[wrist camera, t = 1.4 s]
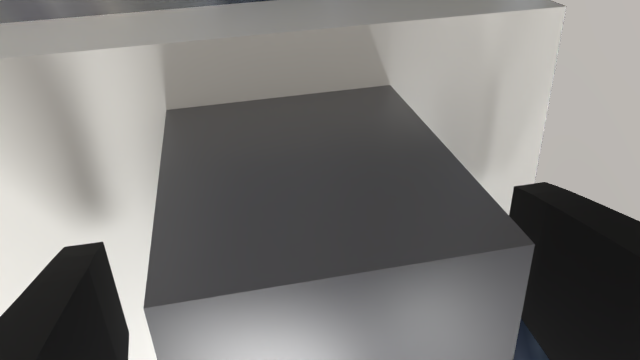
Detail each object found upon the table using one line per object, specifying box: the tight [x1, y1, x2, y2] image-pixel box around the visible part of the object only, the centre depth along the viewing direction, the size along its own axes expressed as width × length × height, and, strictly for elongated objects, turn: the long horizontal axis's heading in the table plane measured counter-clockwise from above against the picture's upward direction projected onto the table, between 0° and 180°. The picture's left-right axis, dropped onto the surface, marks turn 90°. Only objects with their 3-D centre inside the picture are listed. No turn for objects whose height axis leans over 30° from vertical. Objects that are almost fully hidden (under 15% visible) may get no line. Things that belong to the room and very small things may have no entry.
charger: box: [143, 85, 535, 360], centre depth 10 cm, size 5×4×7 cm
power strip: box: [0, 0, 566, 360], centre depth 11 cm, size 7×18×4 cm, turn 93°
